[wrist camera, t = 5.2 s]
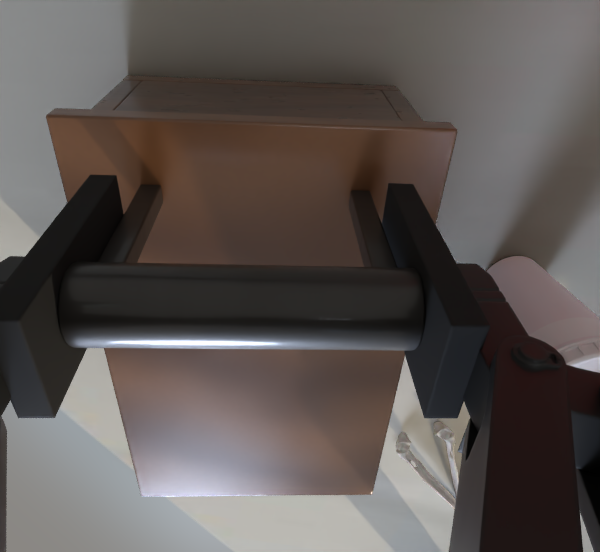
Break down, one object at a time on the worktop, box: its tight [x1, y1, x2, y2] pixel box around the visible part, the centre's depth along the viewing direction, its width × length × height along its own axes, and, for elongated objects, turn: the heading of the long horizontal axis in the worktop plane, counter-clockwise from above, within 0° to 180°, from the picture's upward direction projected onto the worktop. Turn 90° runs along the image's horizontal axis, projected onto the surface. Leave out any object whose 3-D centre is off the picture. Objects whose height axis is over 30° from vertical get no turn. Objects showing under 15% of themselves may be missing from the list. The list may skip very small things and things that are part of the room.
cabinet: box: [91, 75, 424, 122], centre depth 25 cm, size 20×13×8 cm, turn 177°
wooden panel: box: [46, 108, 457, 496], centre depth 18 cm, size 21×13×8 cm, turn 177°
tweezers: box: [396, 422, 459, 510], centre depth 43 cm, size 17×5×2 cm, turn 25°
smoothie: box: [486, 256, 600, 373], centre depth 25 cm, size 6×6×14 cm
